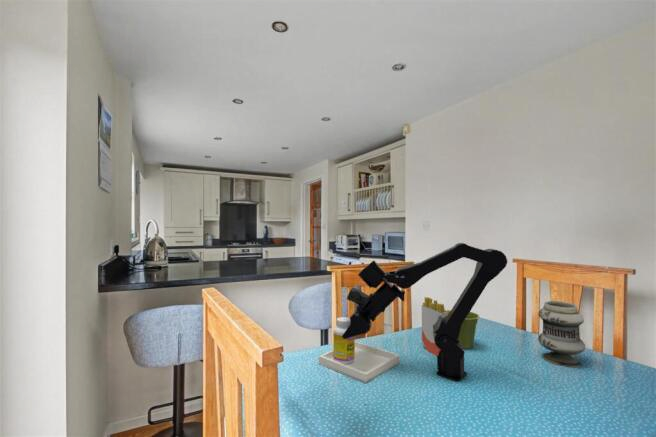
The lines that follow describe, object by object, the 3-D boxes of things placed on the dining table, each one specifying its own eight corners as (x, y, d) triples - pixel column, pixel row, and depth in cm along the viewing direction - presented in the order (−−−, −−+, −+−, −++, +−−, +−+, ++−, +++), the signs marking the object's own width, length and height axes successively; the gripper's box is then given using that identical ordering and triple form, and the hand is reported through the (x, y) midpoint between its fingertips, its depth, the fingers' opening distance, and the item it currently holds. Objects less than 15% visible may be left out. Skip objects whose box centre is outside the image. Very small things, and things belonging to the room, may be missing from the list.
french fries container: (432, 345, 112) (432, 295, 113) (453, 357, 102) (452, 302, 103) (421, 347, 111) (421, 296, 112) (441, 359, 101) (440, 303, 101)
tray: (399, 362, 98) (399, 354, 98) (366, 383, 85) (366, 374, 85) (354, 347, 110) (354, 340, 110) (318, 363, 97) (318, 356, 97)
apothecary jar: (543, 364, 97) (542, 306, 98) (534, 350, 108) (533, 298, 109) (592, 371, 92) (590, 310, 93) (577, 356, 104) (576, 301, 104)
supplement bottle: (347, 366, 94) (347, 323, 94) (329, 361, 97) (329, 319, 98) (358, 359, 99) (358, 318, 100) (340, 354, 103) (340, 315, 103)
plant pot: (448, 337, 121) (448, 308, 121) (482, 344, 114) (482, 313, 114) (439, 347, 111) (439, 315, 112) (476, 354, 104) (475, 320, 105)
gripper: (366, 275, 106) (334, 306, 109) (357, 285, 88) (320, 321, 91) (390, 300, 104) (357, 331, 107) (386, 315, 86) (347, 351, 89)
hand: (345, 332), depth 98 cm, fingers open, 9 cm apart
